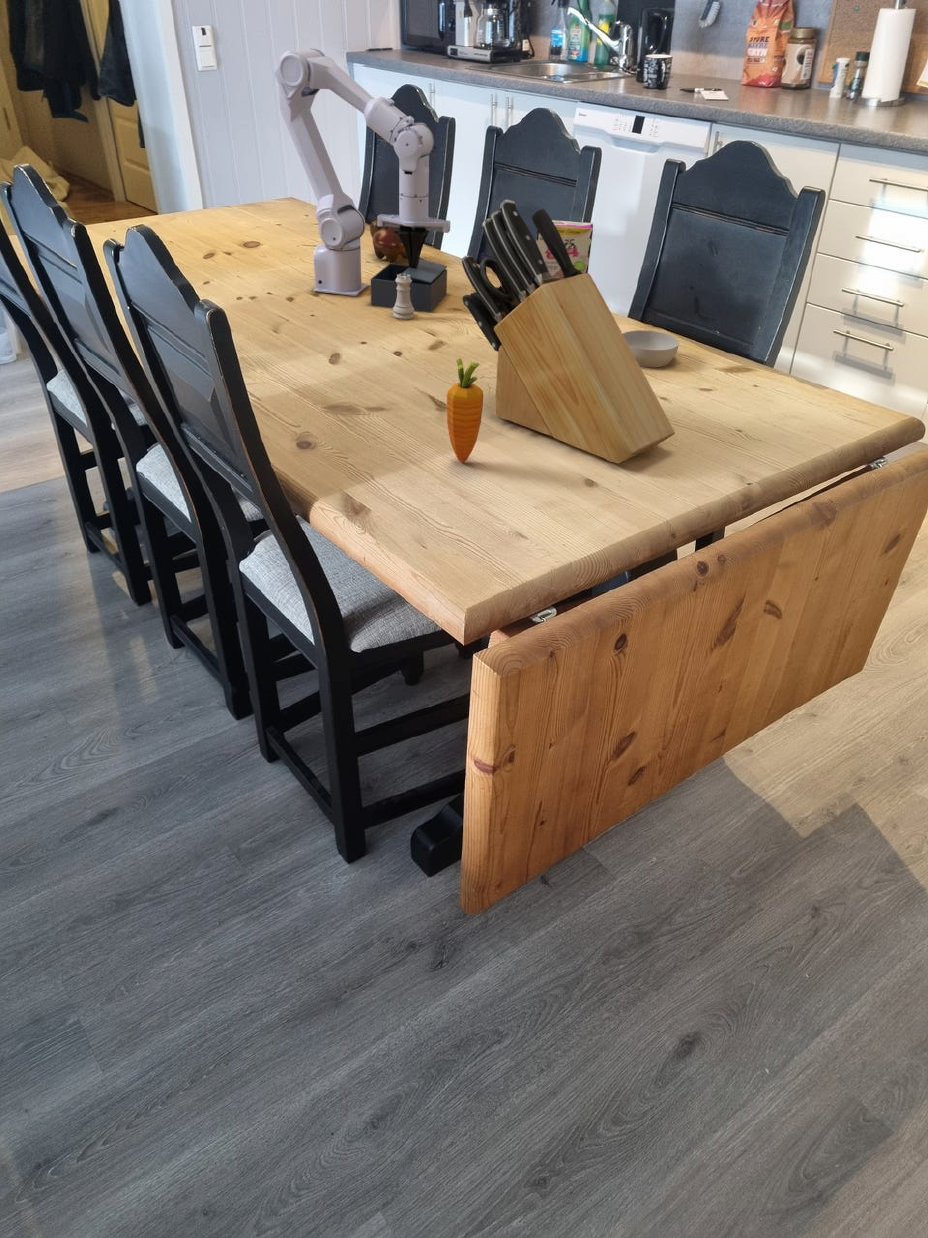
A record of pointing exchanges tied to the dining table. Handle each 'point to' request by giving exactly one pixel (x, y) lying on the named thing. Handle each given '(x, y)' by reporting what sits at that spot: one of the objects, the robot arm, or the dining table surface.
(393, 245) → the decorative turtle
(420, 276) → the flap
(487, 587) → the dining table surface
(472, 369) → the carrot
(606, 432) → the knife block
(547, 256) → the candy bar box
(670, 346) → the grey bowl
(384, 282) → the carton
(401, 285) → the rook chess piece
